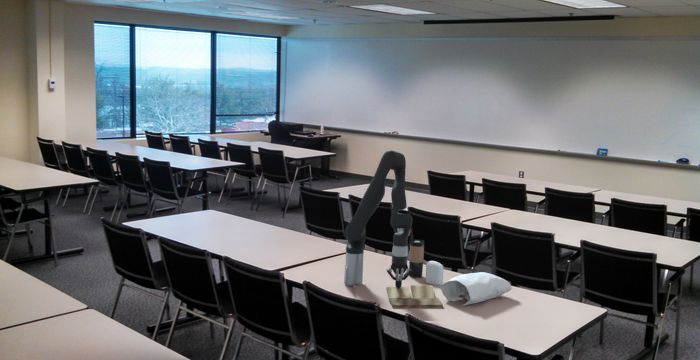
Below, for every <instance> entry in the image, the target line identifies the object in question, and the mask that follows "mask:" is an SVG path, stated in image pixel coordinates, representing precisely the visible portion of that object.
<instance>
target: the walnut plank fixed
mask: <svg viewBox="0 0 700 360" xmlns="http://www.w3.org/2000/svg"><path fill="white" fill-rule="evenodd" d="M388 302H389V304H390V306H391V308H392V309H398V308H399V309H401V308H402V309H405V308H406V309H411V308H412V309H416V308H417V309H422V308H423V309H424V308H425V309H429V308H430V309H434V308H435V309H441V308H442V309H443V307H444V304H443V303H442V301H441V300H440V299H439V298H438V297H436V298H413V297H412V298H393V299H389V298H388Z"/></svg>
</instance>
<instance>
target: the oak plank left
mask: <svg viewBox="0 0 700 360" xmlns="http://www.w3.org/2000/svg"><path fill="white" fill-rule="evenodd" d="M386 294H387V298H388V300H389V299H393V298H413V296H412V293H411V289H410V288H409V286H401V287H400V288H397V287H396V286H386Z"/></svg>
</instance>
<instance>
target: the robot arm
mask: <svg viewBox="0 0 700 360" xmlns="http://www.w3.org/2000/svg"><path fill="white" fill-rule="evenodd" d="M406 163H407V162H406V157H405V155H404V154H403V153H401V152H399V151H396V150H392V149H388V150H387V151H385V152H384V153H383V154H382V156H381V158H380V161H379V162H378V165H377V168H376V171H375V172H374V175H373V177H372V179H371V181H370V182H369V185H368V186H367V188H366V190H365V192H364V194H363V196H362V197H361V200H360V203H359V204H358V207H357V209H356V211H355V214H354V216H352V219H351V220H350V221H349V223H348V224H347V226H346V227H345V230H344V232H345V238H346V239H347V242H346V243H347V244H346V246H345V264H344V278H343V279H344V281H343V283H344V285H345V286H349V287H354V286H362V285H363V277H364V276H363V273H364V254H365V253H364V250H365V246H366V234H367V233H366V232H367V230H366V225H367V223H368V221H369V220H370V218H371V217H372V215H373V214H374V213H375V212H376V210H377V209H378V208H379V206H380V204H381V202H382V201H383V199H384V197H385V193H386V179H387V176H388V174H389V173H390V171H391V170H393V172H394V182H393V185H392V189H391V194H390V196H391V207H392V208H391V215H390V226H391V228H393V229H401V231H399V232H398V231H397V232H395V233H393V238H392V240H393V241H392V248H391V249H392V251H391V253H392V254H391V255H392V256H391V265H390V267H389V268H386V269H385V270H386V273H388V275H389V277H391V279H392V280H393V281H395V284H394V287H397V288H400V287H403V286H402V283H403V281H406V280H407V278H408V277H410V276H409V275H410V274H411V272H412V270H411V269H409V265H408V257H409V256H408V254H409V253H408V252H409V249H408V247H409V246H408V242H409V241H408V240H409V234H410V231H411V227H412V225H413V217H412V215H411V214H409V213H399V212H401V211H403V210H406V208H407V206H408V204H407V197H406V169H407V168H406ZM392 272H393V273H392ZM394 275H395V276H394Z"/></svg>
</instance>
